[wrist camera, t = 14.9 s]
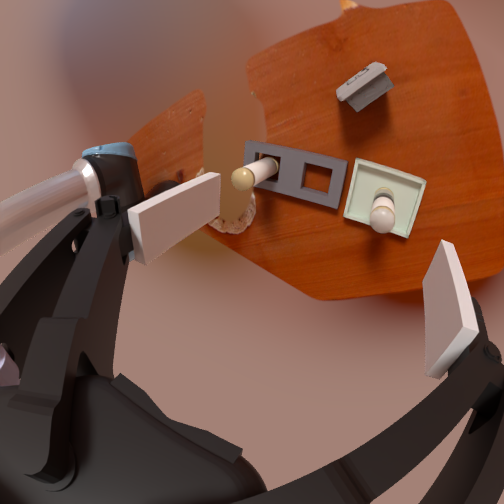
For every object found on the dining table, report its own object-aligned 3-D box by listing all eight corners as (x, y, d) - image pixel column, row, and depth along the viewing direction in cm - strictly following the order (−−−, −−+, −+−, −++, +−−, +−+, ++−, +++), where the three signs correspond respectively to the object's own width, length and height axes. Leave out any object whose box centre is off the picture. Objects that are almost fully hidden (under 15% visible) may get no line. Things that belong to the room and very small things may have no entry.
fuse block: (246, 181, 57) (242, 183, 56) (250, 140, 52) (245, 141, 51) (339, 205, 50) (337, 209, 49) (348, 161, 45) (347, 163, 44)
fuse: (261, 172, 55) (230, 188, 45) (262, 154, 53) (232, 166, 43) (278, 176, 53) (250, 193, 44) (280, 158, 51) (252, 171, 42)
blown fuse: (376, 184, 44) (373, 204, 35) (396, 190, 43) (398, 213, 34) (371, 203, 46) (366, 228, 37) (390, 209, 45) (390, 236, 36)
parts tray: (344, 212, 50) (343, 216, 49) (356, 157, 44) (355, 159, 43) (407, 233, 46) (407, 238, 44) (424, 179, 40) (426, 182, 38)
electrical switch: (374, 61, 34) (375, 54, 27) (393, 84, 35) (399, 82, 28) (335, 90, 40) (328, 89, 33) (354, 112, 41) (351, 116, 34)
